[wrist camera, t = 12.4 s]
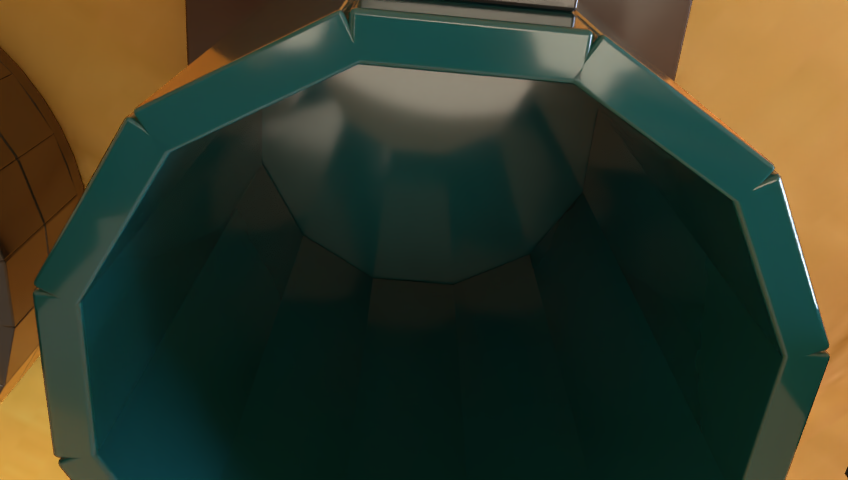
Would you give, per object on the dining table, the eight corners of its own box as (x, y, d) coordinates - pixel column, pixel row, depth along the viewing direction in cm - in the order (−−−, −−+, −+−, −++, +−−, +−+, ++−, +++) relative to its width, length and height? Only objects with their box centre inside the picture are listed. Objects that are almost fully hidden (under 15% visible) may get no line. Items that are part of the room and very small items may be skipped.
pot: (243, -157, 19) (-39, -206, 7) (658, -115, 19) (1000, -101, 8) (245, 321, 24) (86, 714, 13) (567, 346, 25) (687, 750, 13)
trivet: (190, -161, 20) (178, -163, 19) (704, -109, 20) (718, -108, 19) (204, 296, 25) (196, 312, 24) (608, 329, 25) (615, 345, 25)
